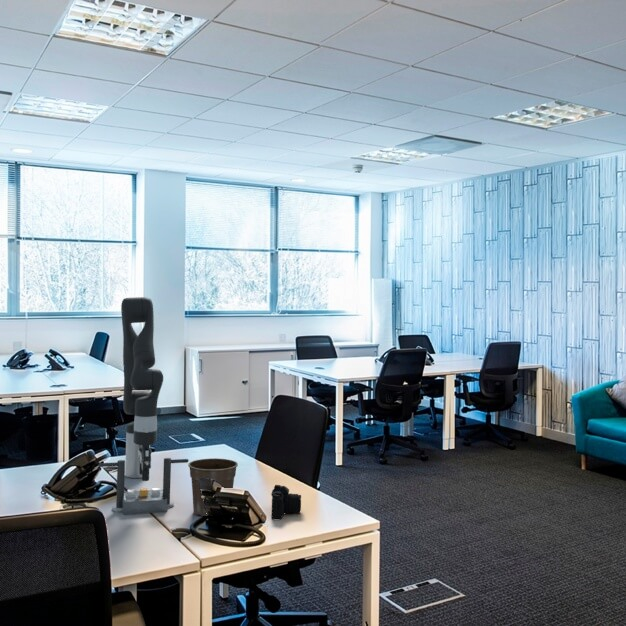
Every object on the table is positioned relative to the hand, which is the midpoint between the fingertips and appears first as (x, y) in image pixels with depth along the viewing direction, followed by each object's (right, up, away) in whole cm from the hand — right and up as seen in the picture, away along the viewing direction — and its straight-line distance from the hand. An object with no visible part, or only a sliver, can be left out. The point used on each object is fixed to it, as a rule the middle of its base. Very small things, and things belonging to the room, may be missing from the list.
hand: (144, 477), depth 223 cm
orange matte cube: (0, -6, 0) cm, 6 cm away
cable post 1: (-10, -10, -3) cm, 14 cm away
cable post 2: (+9, -10, +4) cm, 14 cm away
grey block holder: (0, -10, 0) cm, 10 cm away
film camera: (+47, -12, 0) cm, 49 cm away
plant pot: (+23, -11, -2) cm, 25 cm away
